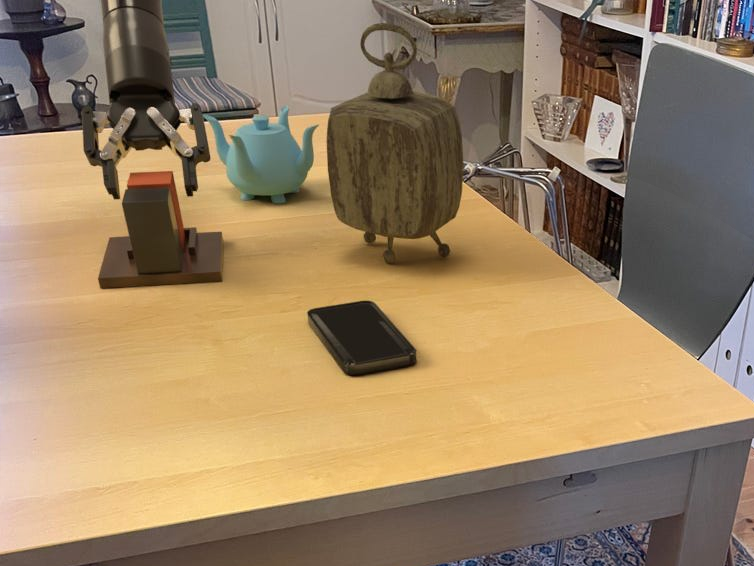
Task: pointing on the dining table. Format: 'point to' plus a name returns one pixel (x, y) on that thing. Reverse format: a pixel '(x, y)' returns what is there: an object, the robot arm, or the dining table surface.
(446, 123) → the tabletop clock
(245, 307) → the dining table surface
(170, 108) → the robot arm
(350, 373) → the phone
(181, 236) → the terracotta block
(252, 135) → the teapot
